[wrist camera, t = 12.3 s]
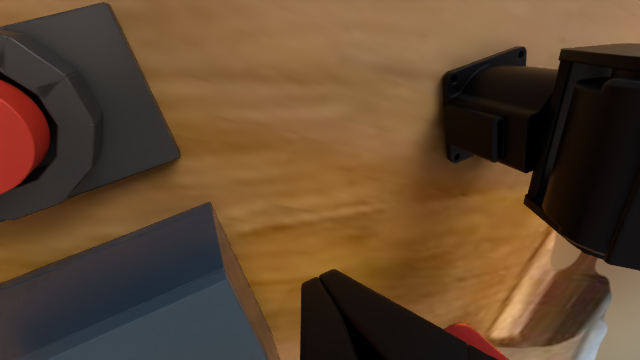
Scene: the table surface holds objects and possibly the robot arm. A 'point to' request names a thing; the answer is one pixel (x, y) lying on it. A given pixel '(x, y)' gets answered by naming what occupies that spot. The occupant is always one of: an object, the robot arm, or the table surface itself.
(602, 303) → the table surface
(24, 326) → the storage box
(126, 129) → the push button switch
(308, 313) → the robot arm
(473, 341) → the paper cup
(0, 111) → the red button
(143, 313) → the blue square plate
